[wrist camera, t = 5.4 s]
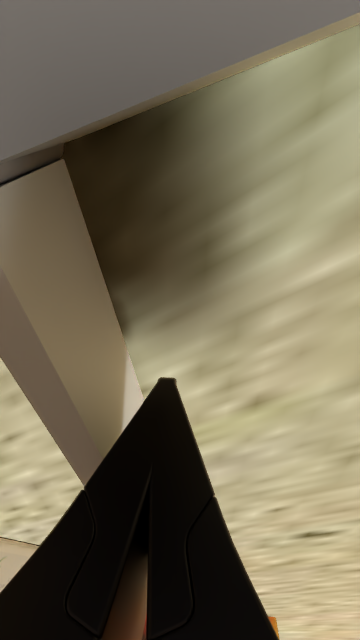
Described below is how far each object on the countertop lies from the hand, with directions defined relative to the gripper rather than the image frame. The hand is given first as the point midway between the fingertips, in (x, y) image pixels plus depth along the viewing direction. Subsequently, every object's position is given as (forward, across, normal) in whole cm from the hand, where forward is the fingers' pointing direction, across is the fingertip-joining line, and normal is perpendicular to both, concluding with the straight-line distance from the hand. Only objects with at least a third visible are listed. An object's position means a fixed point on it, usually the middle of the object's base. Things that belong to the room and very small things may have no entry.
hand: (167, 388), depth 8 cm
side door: (+1, +2, -2) cm, 3 cm away
